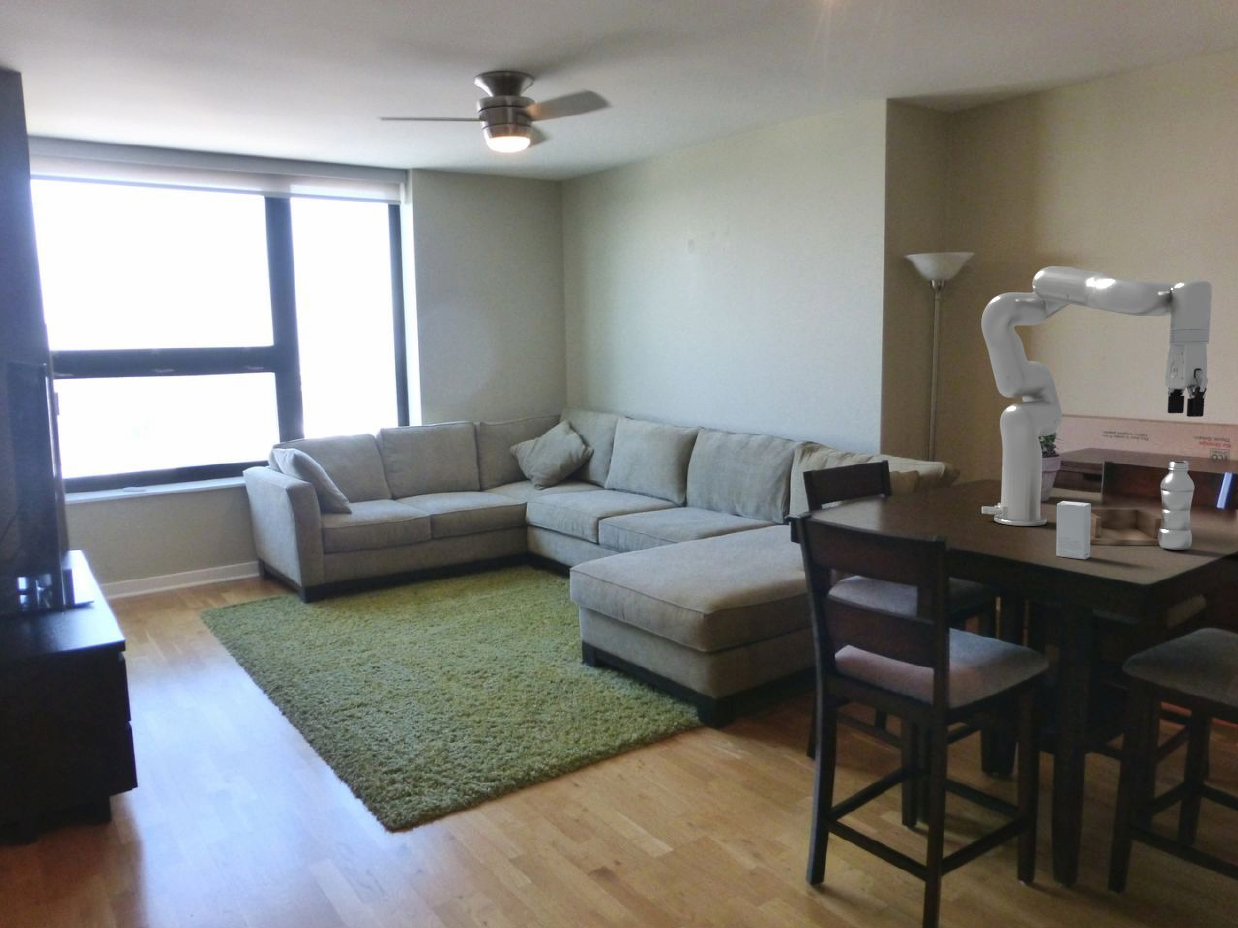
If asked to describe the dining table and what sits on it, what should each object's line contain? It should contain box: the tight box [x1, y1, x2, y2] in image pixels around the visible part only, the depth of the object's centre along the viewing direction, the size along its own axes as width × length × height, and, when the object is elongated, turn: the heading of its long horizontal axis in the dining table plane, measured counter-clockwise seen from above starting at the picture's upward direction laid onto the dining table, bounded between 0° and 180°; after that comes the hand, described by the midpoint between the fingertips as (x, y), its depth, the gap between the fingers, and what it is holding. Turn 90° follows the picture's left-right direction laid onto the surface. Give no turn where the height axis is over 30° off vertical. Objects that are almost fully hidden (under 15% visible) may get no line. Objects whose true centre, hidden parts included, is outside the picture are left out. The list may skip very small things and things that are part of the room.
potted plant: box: [1038, 433, 1073, 502], centre depth 273 cm, size 18×20×25 cm
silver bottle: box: [1158, 460, 1195, 551], centre depth 207 cm, size 6×7×20 cm
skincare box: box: [1055, 500, 1092, 560], centre depth 203 cm, size 6×4×12 cm
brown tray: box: [1090, 507, 1162, 547], centre depth 221 cm, size 18×16×6 cm
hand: (1184, 414), depth 206 cm, fingers open, 9 cm apart
